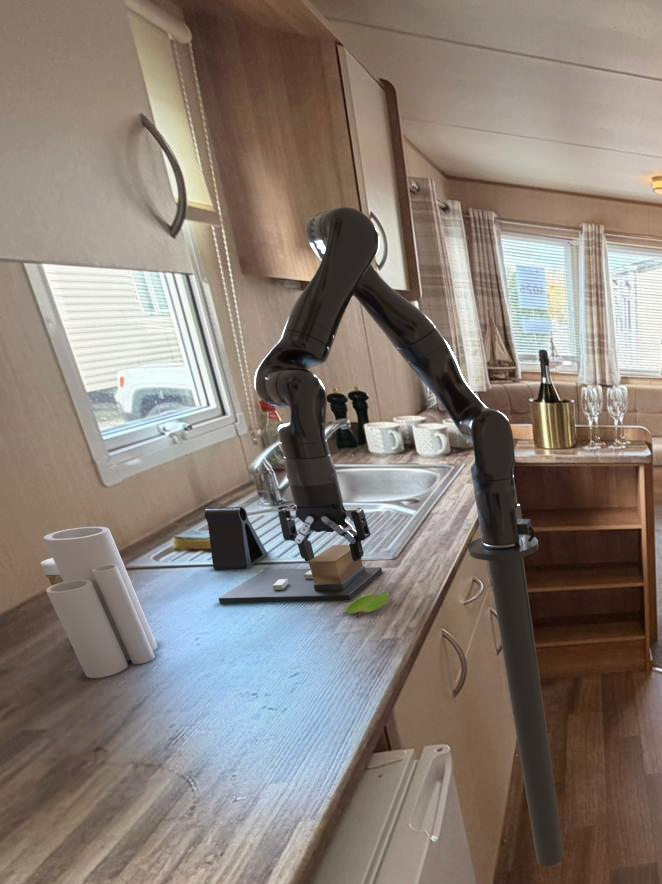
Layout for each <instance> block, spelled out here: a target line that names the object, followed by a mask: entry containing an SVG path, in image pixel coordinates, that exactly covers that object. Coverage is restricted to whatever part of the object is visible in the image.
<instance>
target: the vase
mask: <svg viewBox="0 0 662 884" xmlns="http://www.w3.org/2000/svg"><path fill="white" fill-rule="evenodd" d="M43 540H44V542H45V544H46V546H47V549H48V551H49V553H50V555H51V558H53V560H54V562H55V564H56V566H57V568H58V570H59V573H60V575H61V577H62V579H63V581H64V582H62V583H58V584H55V585H52V586H51V585H50V586H49V587H47V588H45V592H46V594H47V596H48V598H49V600H50V602H51V604H52V607H53V609H54V611H55V613H56V616H57V617H58V619H59V621H60V624H61V626H62V629H63V630H64V632H65V634H66V636H67V638H68V640H69V643H70V645H71V647H72V649H73V651H74V653H75V655H76V658H77V659H78V662H79V664H80V667H81V668H82V670H83V673H84V675H85V676H86V678H90V679H100V678H106V677H109V676H113V675H116V674H118V673H121V672H123V671H124V670H126V669H127V668H128V667H129V663H128V661H130V662H131V664H133V665H138V664H145V663H148V662H150V661H152V660H154V659H155V657H156V656H155V653H154V652H155V650H157V649H158V643H157V641H156V639H155V637H154V634H153V632H152V630H151V627H150V625H149V622H148V620H147V617H146V614H145V612H144V610H143V608H142V605H141V603H140V600H139V598H138V595H137V593H136V591H135V589H134V586H133V584H132V580H131V577H130V575H129V573H128V571H127V568H126V566H125V563H124V561H123V559H122V557H121V554H120V552H119V549H118V547H117V544H116V541H115V539H114V537H113V535H112V533H111V530H110V528H109V527H105V526H82V527H73V528H68V529H62V530H58V531H54V532H50V533H48V534H46V535H44V536H43Z"/></svg>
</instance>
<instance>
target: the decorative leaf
mask: <svg viewBox="0 0 662 884" xmlns="http://www.w3.org/2000/svg"><path fill="white" fill-rule="evenodd" d="M389 598H390V592H385V593H373V594H367V595H364V596H361V597H359V598H357V599H356V600H354V601H353V602H352V603H350V604H349V606H347V608H346V612H347V613H348V614H350V615H353V614H354V615H355V614H358V615H357V616H356V617H357V618H359V617H360V616H361V614H362V613H366V614H367V613H371V612H374V611H377V610H379V609H380V608H382V607H383V606H384V605H385V604H387V602H388V600H389Z"/></svg>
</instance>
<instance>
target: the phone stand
mask: <svg viewBox="0 0 662 884" xmlns="http://www.w3.org/2000/svg"><path fill="white" fill-rule="evenodd" d="M204 518H205V520H206V523H207V528H208V536H209V544H210V553H211V560H212V568H213V570H233V569H249V568H250V567H252V566H254V565H255V564H256V563H258V561H260V560H261V559H263V558H264V557H266V556H267V555H268V551H267V550H266V548H265V545H263V543H262V540H261V539H260V538H259V535H258V534H257V531H256V530H255V529H254V527H253V525H252V523H251V522H250V519H249V517H248V513H247V510H246V508H244V507H243V506H234V507H232V506H230V507H208V508H206V509H205V510H204Z"/></svg>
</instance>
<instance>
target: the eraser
mask: <svg viewBox="0 0 662 884" xmlns="http://www.w3.org/2000/svg"><path fill="white" fill-rule="evenodd" d="M308 566H309V569H311V573H312V576H313V580H314V583H315V584H314V585H313V586H314V590H315V591H326V590H344V589H345V588H346V587H348V586H349V585H350V584H351V583H352V582H354V581H355V580H356V579H357V578H359V577H360V576H361V575H362V574H363V573H365V572H366V570H365V568H366V567H365V566H364V565H363V560H362V558H361V559H360V560H358V561H353V559H352V555H351V551H350V546H349V544H333V545H331V546H330V547H328V548H327V549H325V550H324V551H322V552H320V553H319V554H317V555H316V556H314V558H313V559H312V560H310V561H308Z"/></svg>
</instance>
